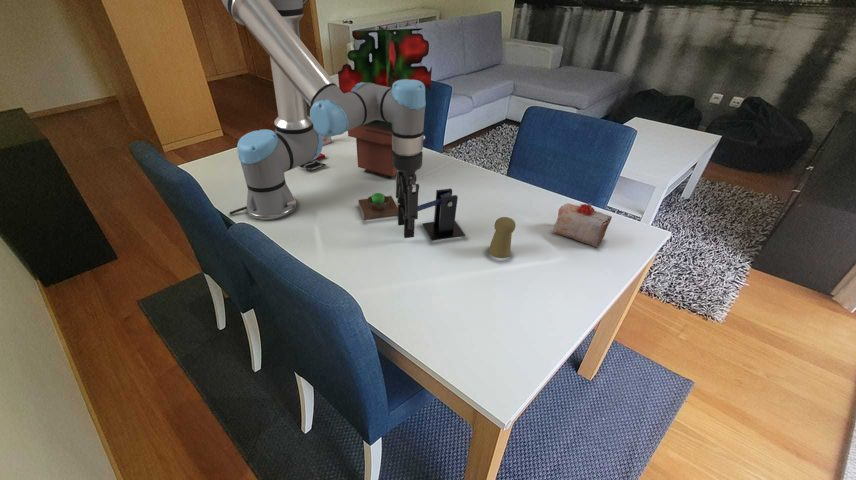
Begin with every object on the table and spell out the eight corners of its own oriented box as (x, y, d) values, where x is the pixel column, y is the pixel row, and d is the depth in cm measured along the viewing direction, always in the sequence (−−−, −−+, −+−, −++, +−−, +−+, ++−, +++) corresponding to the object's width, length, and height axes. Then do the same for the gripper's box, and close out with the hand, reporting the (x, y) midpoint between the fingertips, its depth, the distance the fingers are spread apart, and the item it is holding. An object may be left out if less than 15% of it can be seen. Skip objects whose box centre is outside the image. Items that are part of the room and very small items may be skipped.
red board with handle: (303, 174, 143) (336, 163, 151) (302, 167, 141) (335, 156, 149) (264, 152, 160) (295, 144, 168) (262, 146, 158) (294, 137, 166)
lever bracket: (431, 243, 109) (434, 203, 101) (422, 226, 116) (424, 187, 107) (464, 238, 111) (470, 198, 102) (453, 222, 117) (458, 183, 109)
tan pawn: (505, 264, 101) (514, 228, 94) (483, 256, 104) (490, 221, 97) (512, 252, 105) (521, 217, 98) (491, 245, 108) (498, 211, 101)
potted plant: (425, 165, 149) (434, 27, 120) (396, 187, 135) (397, 37, 106) (378, 153, 158) (375, 23, 129) (346, 173, 144) (334, 31, 115)
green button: (373, 204, 118) (372, 199, 117) (370, 198, 121) (370, 193, 120) (385, 203, 118) (385, 198, 117) (382, 197, 121) (382, 192, 120)
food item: (548, 233, 112) (557, 203, 106) (558, 222, 117) (567, 193, 110) (596, 250, 106) (609, 219, 99) (605, 238, 110) (618, 207, 104)
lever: (406, 222, 104) (404, 215, 103) (400, 211, 109) (398, 204, 107) (455, 206, 105) (454, 199, 103) (447, 196, 109) (446, 188, 107)
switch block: (364, 222, 118) (363, 210, 115) (358, 207, 125) (357, 194, 122) (399, 218, 119) (399, 205, 116) (391, 203, 127) (391, 190, 124)
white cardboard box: (313, 144, 167) (310, 120, 161) (326, 140, 170) (324, 116, 164) (318, 146, 165) (315, 122, 158) (331, 142, 168) (329, 118, 162)
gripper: (434, 164, 88) (428, 247, 103) (411, 136, 102) (409, 212, 117) (402, 168, 87) (401, 251, 102) (384, 138, 101) (385, 215, 116)
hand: (405, 230), depth 109 cm, fingers closed on lever, 6 cm apart
